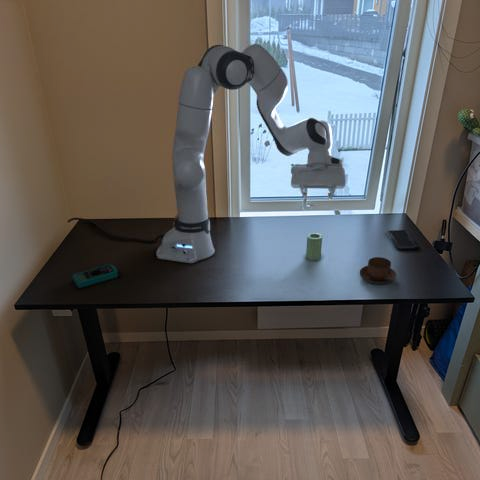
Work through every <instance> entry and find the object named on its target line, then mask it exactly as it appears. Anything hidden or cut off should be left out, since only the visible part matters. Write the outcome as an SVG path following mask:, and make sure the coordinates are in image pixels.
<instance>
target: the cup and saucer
mask: <svg viewBox="0 0 480 480" xmlns="http://www.w3.org/2000/svg"><path fill="white" fill-rule="evenodd" d="M391 266H392V262H391V260H390V259H388V258H386V257H380V256H375V257H371V258H369V260H368V263H367V265H365V266H363V267H361V269H360V270H359V275H360V277H361V278H362V279H363V280H364V281H366V282H367V283H371V284H376V285H387V284H389V283H391V282H393V281H395V280H396V278H397V272H396V271H395V270H394V269H392V268H391Z"/></svg>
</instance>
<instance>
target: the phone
mask: <svg viewBox="0 0 480 480" xmlns="http://www.w3.org/2000/svg"><path fill="white" fill-rule="evenodd" d="M386 234H387V236H388V239H389V240H390V241H391V243H392V244H393V246H394V248H395V249H396V250H399V251H401V250H403V251H404V250H416V249H417V248H418V244H417V243H416V242H415V241H416V240H414V239H413V237H412V236H411V235H410V233H409V232H408V231H407V230H405V229H397V230H396V229H395V230H394V229H393V230H387V231H386Z"/></svg>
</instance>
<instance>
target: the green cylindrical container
mask: <svg viewBox="0 0 480 480" xmlns="http://www.w3.org/2000/svg"><path fill="white" fill-rule="evenodd" d="M322 245H323V235H322V234H321V233H318V232H311V233H308V234H307V235H306V252H305V257H306V259H307V260H310V261H317V260H318V261H319V260H320V259H321V258H322V257H321V256H322Z"/></svg>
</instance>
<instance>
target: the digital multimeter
mask: <svg viewBox="0 0 480 480" xmlns="http://www.w3.org/2000/svg"><path fill="white" fill-rule="evenodd" d="M118 277H119V274H118V269H117V267H115V266H114V265H113V264H111V263H109V264H105V265H102V266H99V267H96V268H95V267H94V268H92V269H88V270H83V271H81V272H77V273H74V274H73V275H72V280H73V281H74V284H75V285H76V286H77V287H78V288H79V289H83V288H86V287H89V286H93V285H97V284H99V283H103V282H106V281H110V280H113V279H116V278H118Z"/></svg>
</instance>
